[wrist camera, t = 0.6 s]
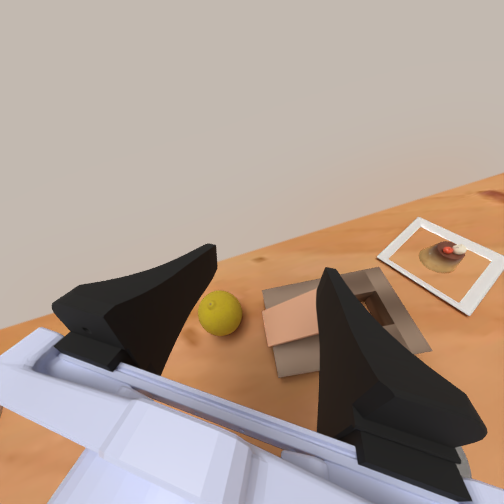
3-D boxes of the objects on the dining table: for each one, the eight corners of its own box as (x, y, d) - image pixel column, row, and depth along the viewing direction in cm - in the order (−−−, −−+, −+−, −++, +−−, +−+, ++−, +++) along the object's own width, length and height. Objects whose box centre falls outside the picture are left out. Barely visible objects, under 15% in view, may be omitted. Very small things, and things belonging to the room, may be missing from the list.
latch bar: (272, 346, 21) (268, 346, 20) (265, 311, 23) (261, 311, 22) (338, 328, 16) (335, 328, 16) (322, 288, 19) (319, 287, 18)
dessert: (373, 260, 29) (387, 243, 25) (414, 220, 32) (432, 199, 28) (462, 318, 23) (499, 308, 19) (503, 263, 26) (543, 244, 22)
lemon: (230, 295, 29) (214, 273, 23) (254, 318, 27) (243, 302, 20) (204, 320, 28) (179, 305, 21) (227, 348, 25) (206, 341, 18)
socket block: (410, 353, 21) (432, 351, 18) (279, 376, 22) (278, 377, 19) (367, 279, 27) (379, 266, 24) (265, 299, 28) (262, 290, 25)
